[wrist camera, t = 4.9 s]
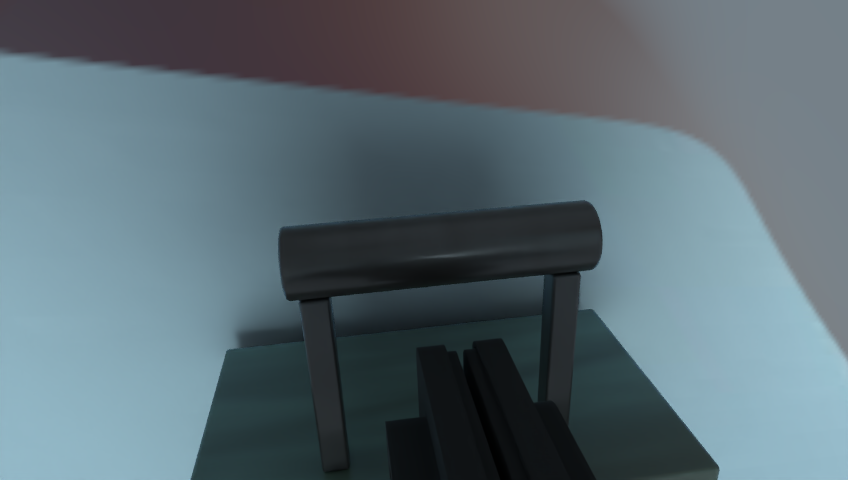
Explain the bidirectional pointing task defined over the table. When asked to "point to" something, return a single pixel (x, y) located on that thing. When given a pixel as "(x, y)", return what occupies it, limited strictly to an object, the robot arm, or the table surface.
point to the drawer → (396, 350)
